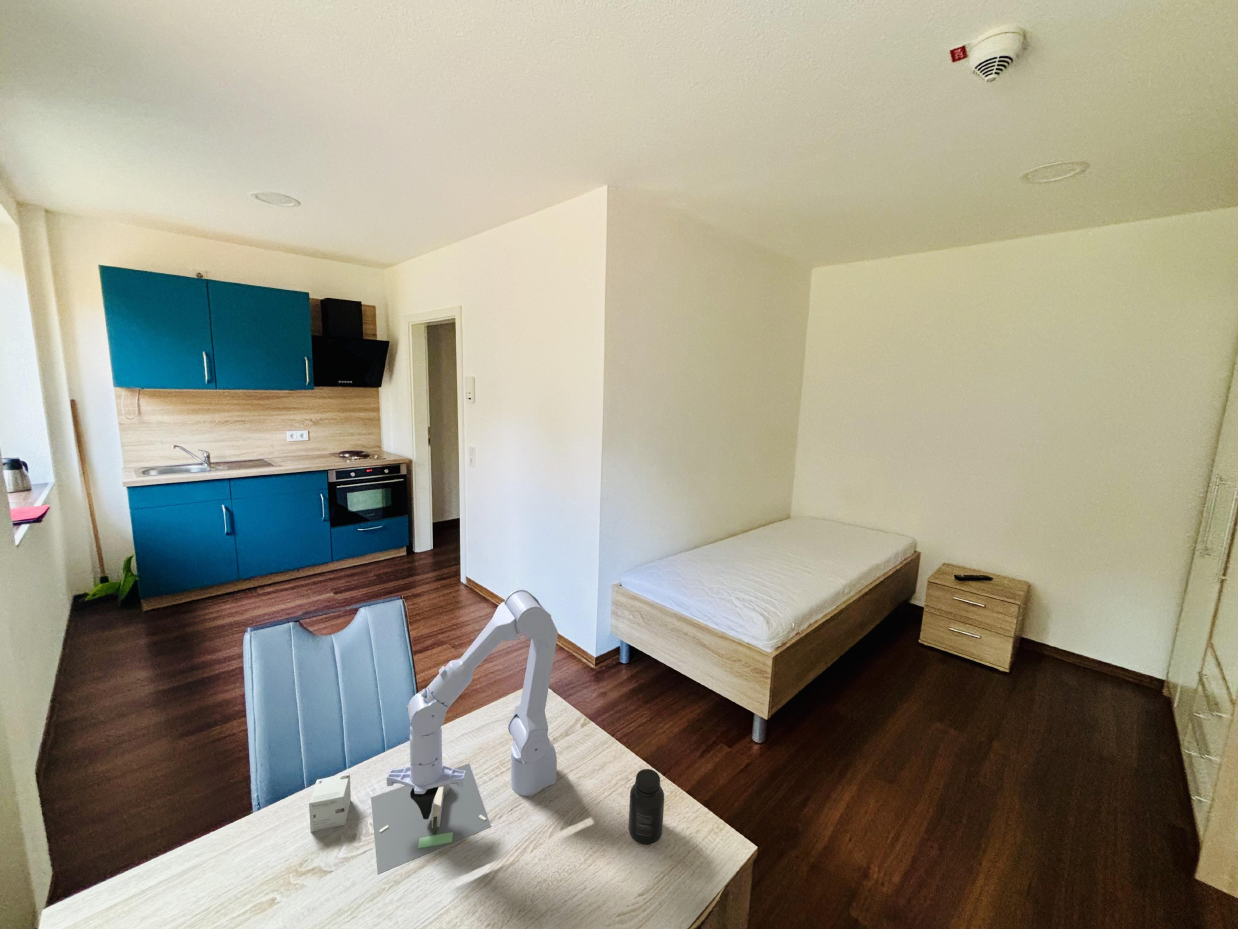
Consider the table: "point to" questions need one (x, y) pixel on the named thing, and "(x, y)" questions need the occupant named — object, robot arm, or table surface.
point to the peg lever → (439, 806)
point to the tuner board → (424, 822)
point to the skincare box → (330, 802)
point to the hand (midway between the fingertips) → (427, 815)
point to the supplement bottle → (646, 808)
